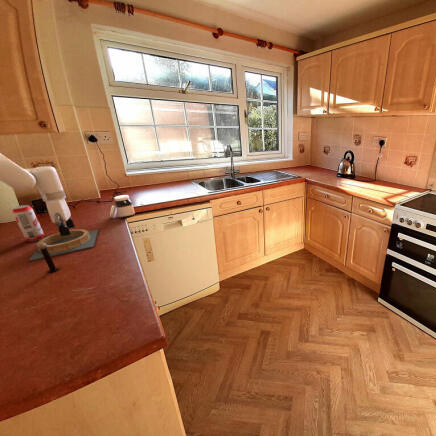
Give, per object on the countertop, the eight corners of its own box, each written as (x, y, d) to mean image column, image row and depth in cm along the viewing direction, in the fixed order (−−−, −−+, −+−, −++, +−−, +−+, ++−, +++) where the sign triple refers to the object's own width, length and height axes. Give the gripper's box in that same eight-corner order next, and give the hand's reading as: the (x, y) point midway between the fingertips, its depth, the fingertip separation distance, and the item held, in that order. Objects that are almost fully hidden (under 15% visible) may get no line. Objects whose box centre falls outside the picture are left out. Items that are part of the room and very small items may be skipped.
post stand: (48, 273, 86) (34, 245, 82) (50, 270, 88) (37, 242, 84) (57, 271, 87) (44, 243, 83) (59, 267, 89) (47, 240, 85)
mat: (29, 261, 94) (28, 260, 94) (44, 241, 110) (43, 240, 110) (93, 247, 103) (92, 246, 103) (98, 231, 119) (97, 230, 119)
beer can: (25, 243, 109) (8, 210, 103) (28, 238, 113) (12, 206, 107) (44, 239, 112) (29, 206, 106) (46, 235, 117) (32, 203, 111)
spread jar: (137, 216, 136) (131, 196, 132) (113, 222, 129) (106, 201, 125) (131, 211, 145) (126, 192, 140) (109, 217, 137) (102, 197, 133)
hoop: (34, 257, 96) (31, 250, 95) (46, 241, 109) (43, 235, 108) (87, 245, 104) (84, 239, 103) (92, 232, 117) (90, 226, 116)
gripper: (47, 192, 110) (62, 227, 117) (35, 202, 96) (52, 240, 103) (69, 190, 114) (82, 223, 120) (60, 199, 100) (75, 236, 106)
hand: (68, 231), depth 112 cm, fingers open, 9 cm apart
